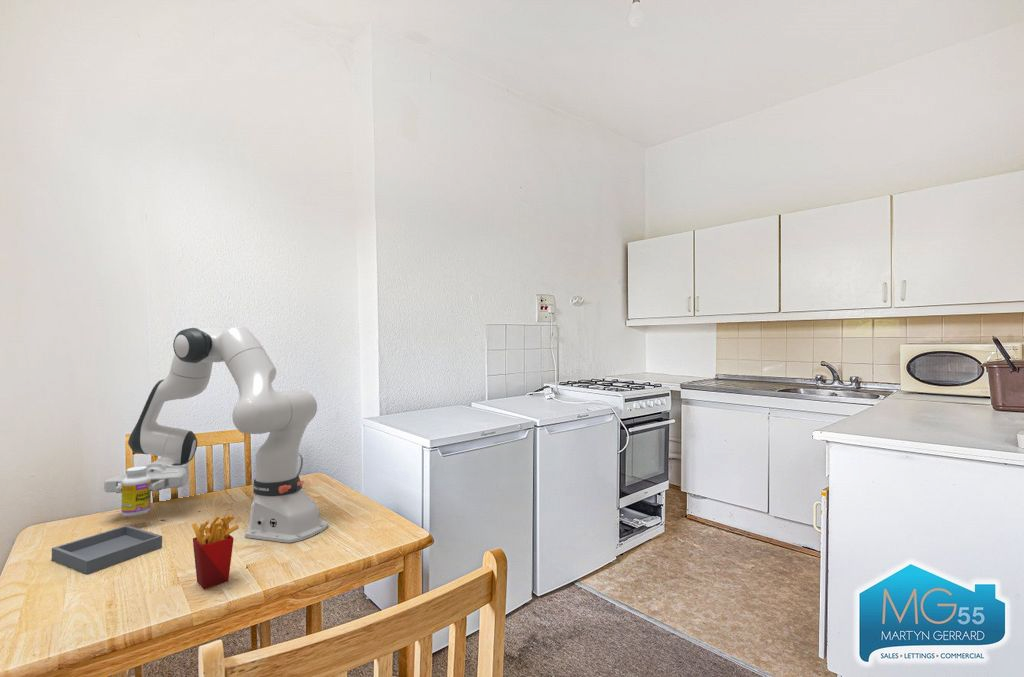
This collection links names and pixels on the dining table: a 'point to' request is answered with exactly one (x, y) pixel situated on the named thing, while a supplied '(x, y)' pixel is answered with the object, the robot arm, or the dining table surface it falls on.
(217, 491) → the dining table surface
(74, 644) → the dining table surface
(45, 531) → the dining table surface
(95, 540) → the tray
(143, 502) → the supplement bottle
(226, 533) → the french fries
